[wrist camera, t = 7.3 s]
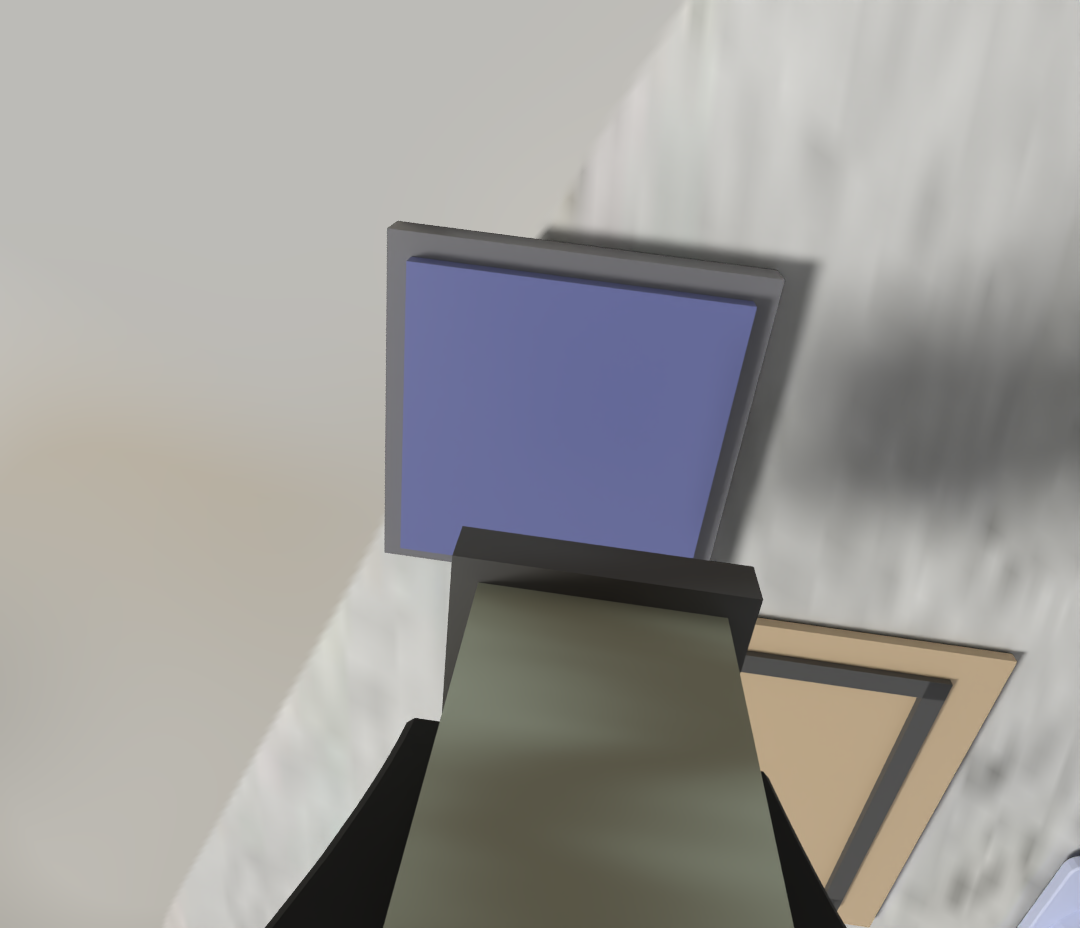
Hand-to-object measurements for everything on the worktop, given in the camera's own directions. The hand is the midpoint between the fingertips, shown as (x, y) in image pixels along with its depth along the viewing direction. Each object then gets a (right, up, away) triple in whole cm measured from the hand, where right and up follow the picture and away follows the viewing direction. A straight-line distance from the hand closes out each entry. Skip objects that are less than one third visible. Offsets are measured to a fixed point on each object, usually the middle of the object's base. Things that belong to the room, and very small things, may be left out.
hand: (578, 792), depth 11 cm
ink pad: (0, +6, +7) cm, 9 cm away
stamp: (0, +1, +2) cm, 2 cm away
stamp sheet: (+5, -5, +12) cm, 14 cm away
